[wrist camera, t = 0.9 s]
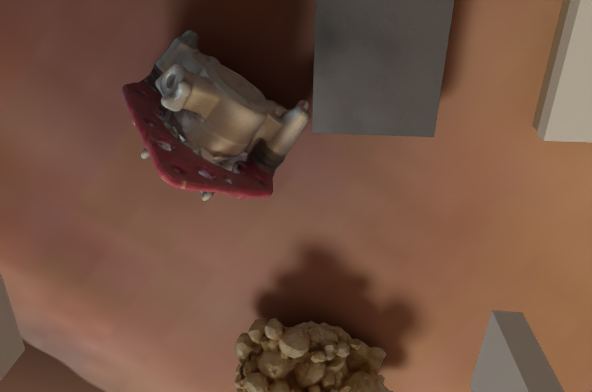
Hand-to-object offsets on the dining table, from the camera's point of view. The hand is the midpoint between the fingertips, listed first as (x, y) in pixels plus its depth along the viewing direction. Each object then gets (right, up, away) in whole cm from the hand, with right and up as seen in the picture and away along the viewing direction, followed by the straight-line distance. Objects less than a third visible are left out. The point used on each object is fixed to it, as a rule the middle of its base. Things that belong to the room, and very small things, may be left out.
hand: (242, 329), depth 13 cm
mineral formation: (+3, -10, +31) cm, 33 cm away
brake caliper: (-4, +10, +22) cm, 24 cm away
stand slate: (+7, +13, +18) cm, 24 cm away
